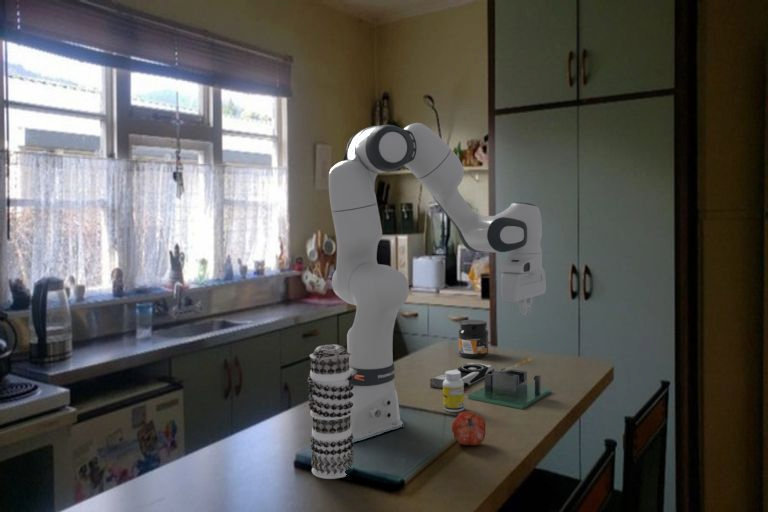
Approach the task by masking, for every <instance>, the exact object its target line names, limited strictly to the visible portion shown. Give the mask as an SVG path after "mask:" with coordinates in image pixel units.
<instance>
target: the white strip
mask: <svg viewBox="0 0 768 512" xmlns="http://www.w3.org/2000/svg"><path fill="white" fill-rule="evenodd" d="M530 361H532V358H531V357H528V358H524V360H521V361H518V362H517V363H515V364H513V365H511V366H509V367H505V368H506V369H504V370H502V371H501V370H500V371H499V372H501V373H505V372H507V371H509V370H511V369H515V368H517V367H519V366H521V365H524V364H526V363H528V362H530ZM492 375H493V374H492Z"/></svg>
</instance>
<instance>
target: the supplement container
mask: <svg viewBox="0 0 768 512" xmlns="http://www.w3.org/2000/svg"><path fill="white" fill-rule="evenodd" d="M457 332H458V333H457V334H458V355H460V357H463V358H465V359H483V357H484V358H486V357H488V356H489V354H490V353H489V333H490V332H489V330H488V322H487V320H483V319H464V320H460V321H459V329H458V331H457Z"/></svg>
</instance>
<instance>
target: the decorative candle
mask: <svg viewBox="0 0 768 512" xmlns="http://www.w3.org/2000/svg"><path fill="white" fill-rule="evenodd" d="M349 356H350V353H349V352H347V348H345V346H343V345H340V344H323V345H319V346H317V347H316V348H315V349H314V351H313V353H310V354H309V357H310V368H311V369H310V371H309V375H308V376H307V377H308V378H307V379H306V382H307V383H308V385H307V392H308V393H309V395H308V396H307V397H308V400H309V403H308V406H309V410H310V412H309V415H310V416H311V417H312V427H311V436H310V442H311V445H310V449H311V450H312V451H311V453H310V457H311V462H310V464H311V467H312V468H311V474H313V476H315V477H317V478H319V479H324V480H325V479H326V480H336V479H340V478H345V477H347V476H346V475H347V474H346V473H345V471H346V470H348V469H349V466H350V467H351V466H352V465H353V464H354V462H355V461H354V457H353V456H354V455H355V453H354V449H353V447H354V442H352V439H353V435H352V433H351V432H352V431H351V425H350V415H351V414H352V409H351V407H352V406H353V403H352V402H350V401H349V398H351V397H353V393H352V392H350V390H352V389H353V385H351V383H350V384H349V381H350V380H352V379H353V378H354V376H353V375H351V374H350V368H349ZM353 466H354V465H353Z"/></svg>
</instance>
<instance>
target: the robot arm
mask: <svg viewBox="0 0 768 512" xmlns="http://www.w3.org/2000/svg"><path fill="white" fill-rule="evenodd" d="M403 166H404V167H405V168H406V169H408V170H409V171H410V173H412V174H413V176H414V177H415V178H416V179H417V180H418V181H419V183H420V184H421V185H422V186H423V187H424V188H425V189H426V190H427V191H428V192H429V194H430V195H431V197H432V198H433V199H434V201H435V202H436V203H437V205H438V206H439V207H440V208H441V210H442V211H443V212H444V213H445V215H446V217H447V218H448V219H449V220H450V221H451V223H452V224H453V225H454V227H455V229H456V230H457V232H458V233H457V234H458V236H459V238H460V241H461V243H462V244H463V246H464V247H465V248H466V249H467V250H468V251H471V252H473V253H485V252H486V253H496V254H497V253H499V254H502V253H507V257H506V258H505V260H504V261H503V262H501V263H500V265H499V271H500V273H502V274H501V277H500V288H501V289H500V291H501V292H500V293H501V298H502V301H503V302H507V303H517V306H518V309H519V316H528V315H529V314H531V308H532V303H533V301H534V299H533V298H535V297H538V296H541V295H544V294H546V290H547V279H546V271H545V269H544V267H543V250H542V246H541V241H542V238H543V223H542V220H543V219H542V213H541V211H540V209H539V206H537V205H535V204H533V203H528V202H519V201H518V202H512V203H511V204H510V206H509V207H507V208H506V209H505V210H503V211H501V212H499V213H497V214H495V215H483V214H480V213H477V212H476V211H474V210H473V209H472V208H471V206H470V205H469V204H468V202H467V201H466V200H465V199H464V197H463V196H462V194H461V193H460V192H459V191H460V190H459V189H458V187H459V186H460V185H461V183H462V181H463V177H464V174H465V172H464V165H463V164H462V161H461V160H460V159H459V157H458V156H457V154H456V153H455V152H454V151H453V150H452V148H451V147H450V146H449V145H448V144H447V143H446V142H445V141H444V140H443V139H442V138H441V137H440V136H439V135H438V134H437V133H436V132H434V130H432V129H431V128H430V127H428V126H427V125H425V124H423V123H421V122H412V123H411V124H408V125H407V126H405V127H404V128H401V127H398V126H396V125H394V124H393V125H392V124H381V125H373V126H372V125H371V126H369V127H365V128H364V129H361V130H359V131H356V132H355V133H354V134H353V135H352V136H351V138H350V139H349V141H348V142H347V146H346V150H345V154H344V156H343V159H342V161H339V162H337V163H336V164H334V165H333V166H332V167H331V168H330V170H329V172H328V193H329V194H328V196H329V204H330V205H329V206H330V210H331V216H332V221H333V222H332V223H333V226H334V232H335V237H336V238H335V240H336V266H335V270H334V272H333V274H332V278H331V287H332V290H333V292H334V293H335V295H336V296H337V297H338V298H340V299H341V300H342V301H343V302H345V303H346V304H349V305H352V306H355V308H356V309H355V316H354V320H353V324H352V326H351V327H350V328H349V329H348V331H347V334H346V343H347V345H346V346H347V347H346V351H347V352H349V353H350V356H349V368H350V374H351V375H353V376H354V378H353V379H352V380H350V381H349V384H350V383H351V385H353V389H352V390H350V392H352V393H353V397H351V398H349V401H350V402H352V403H353V406H352V407H351V409H352V414H351V415H350V425H351V431H352V432H351V433H352V435H353V439H357V438H362V437H365V436H368V435H371V434H374V433H376V432H380V431H382V430H386V429H389V428H392V427H395V426H399V425H402V424H403V425H404V422H403V421H402V420H401V416H400V414H401V413H400V407H399V406H400V405H399V399H398V398H399V396H398V392H397V389H396V386H395V382H394V379H395V377H396V376H395V374H396V368H395V363H394V362H393V360H394V359H393V355H394V354H393V344H394V343H393V337H394V328H395V324H396V319H397V316H398V312H399V311H400V309H401V307H402V306H404V304H405V303H406V301H407V299H408V296H409V293H410V286H409V285H410V284H409V281H408V279H407V277H406V275H405V274H404V273H403V272H402V271H399V270H398V269H396V268H394V267H392V266H390V265H389V264H380V263H378V260H377V256H378V255H377V254H378V245H379V243H380V241H381V239H382V237H383V229H382V228H383V227H382V223H381V216H380V212H379V207H378V202H377V201H378V200H377V196H376V192H375V188H376V187H375V186H376V179H377V176H378V174H382V173H383V174H384V173H388V172H389V173H390V172H393V171H397V170H399V169H401V168H403ZM392 423H394V424H397V425H392ZM370 432H371V433H370Z"/></svg>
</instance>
